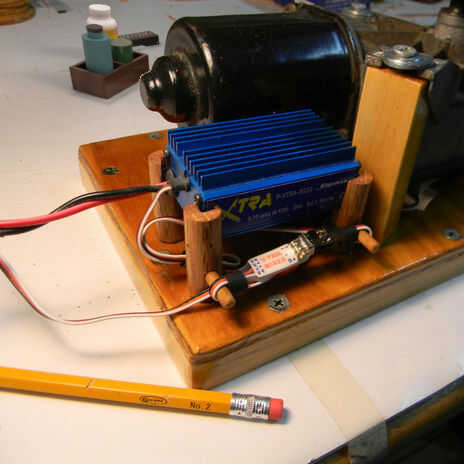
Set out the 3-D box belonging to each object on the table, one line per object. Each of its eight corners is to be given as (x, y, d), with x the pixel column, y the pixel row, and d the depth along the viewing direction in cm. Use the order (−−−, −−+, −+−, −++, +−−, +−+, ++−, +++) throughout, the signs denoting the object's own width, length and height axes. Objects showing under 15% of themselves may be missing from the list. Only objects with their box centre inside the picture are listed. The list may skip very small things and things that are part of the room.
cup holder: (73, 91, 104) (68, 66, 100) (119, 68, 116) (116, 45, 112) (107, 102, 102) (104, 77, 99) (150, 77, 115) (148, 54, 111)
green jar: (107, 77, 110) (102, 42, 105) (120, 70, 114) (116, 36, 109) (126, 82, 109) (122, 47, 104) (139, 75, 113) (136, 41, 108)
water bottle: (84, 87, 104) (73, 26, 96) (100, 79, 108) (91, 20, 100) (105, 93, 103) (97, 32, 95) (120, 85, 107) (113, 26, 99)
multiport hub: (159, 43, 132) (159, 35, 131) (124, 50, 125) (123, 41, 124) (150, 38, 134) (149, 30, 133) (115, 44, 127) (114, 36, 126)
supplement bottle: (124, 65, 118) (118, 11, 110) (96, 68, 114) (88, 12, 106) (116, 55, 122) (109, 2, 114) (89, 57, 118) (80, 3, 110)
